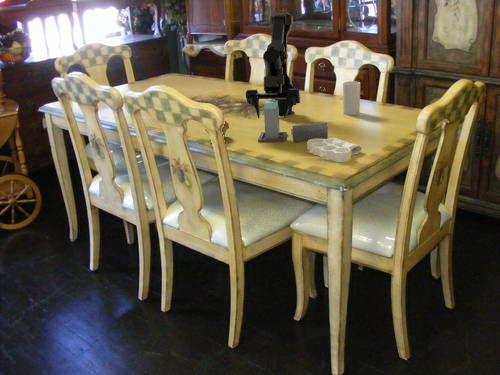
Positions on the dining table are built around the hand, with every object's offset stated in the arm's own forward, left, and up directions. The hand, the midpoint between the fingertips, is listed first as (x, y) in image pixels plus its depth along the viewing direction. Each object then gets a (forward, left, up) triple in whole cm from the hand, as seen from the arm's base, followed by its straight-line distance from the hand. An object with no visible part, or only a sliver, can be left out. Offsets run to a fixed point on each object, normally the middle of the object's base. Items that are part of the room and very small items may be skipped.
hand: (271, 117), depth 208 cm
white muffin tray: (+26, +2, -9) cm, 27 cm away
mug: (-2, +43, -8) cm, 44 cm away
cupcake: (-16, -12, -8) cm, 22 cm away
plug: (0, 0, -8) cm, 8 cm away
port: (+7, +9, -8) cm, 14 cm away
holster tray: (0, 0, -8) cm, 8 cm away
